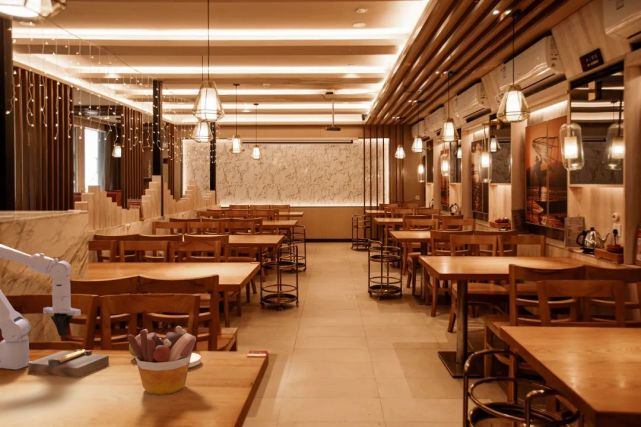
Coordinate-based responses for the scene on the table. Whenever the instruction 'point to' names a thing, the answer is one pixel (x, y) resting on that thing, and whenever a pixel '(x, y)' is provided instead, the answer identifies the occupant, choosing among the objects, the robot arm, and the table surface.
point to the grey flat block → (68, 364)
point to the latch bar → (71, 355)
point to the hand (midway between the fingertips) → (62, 335)
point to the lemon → (132, 349)
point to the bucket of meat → (163, 360)
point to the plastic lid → (195, 359)
